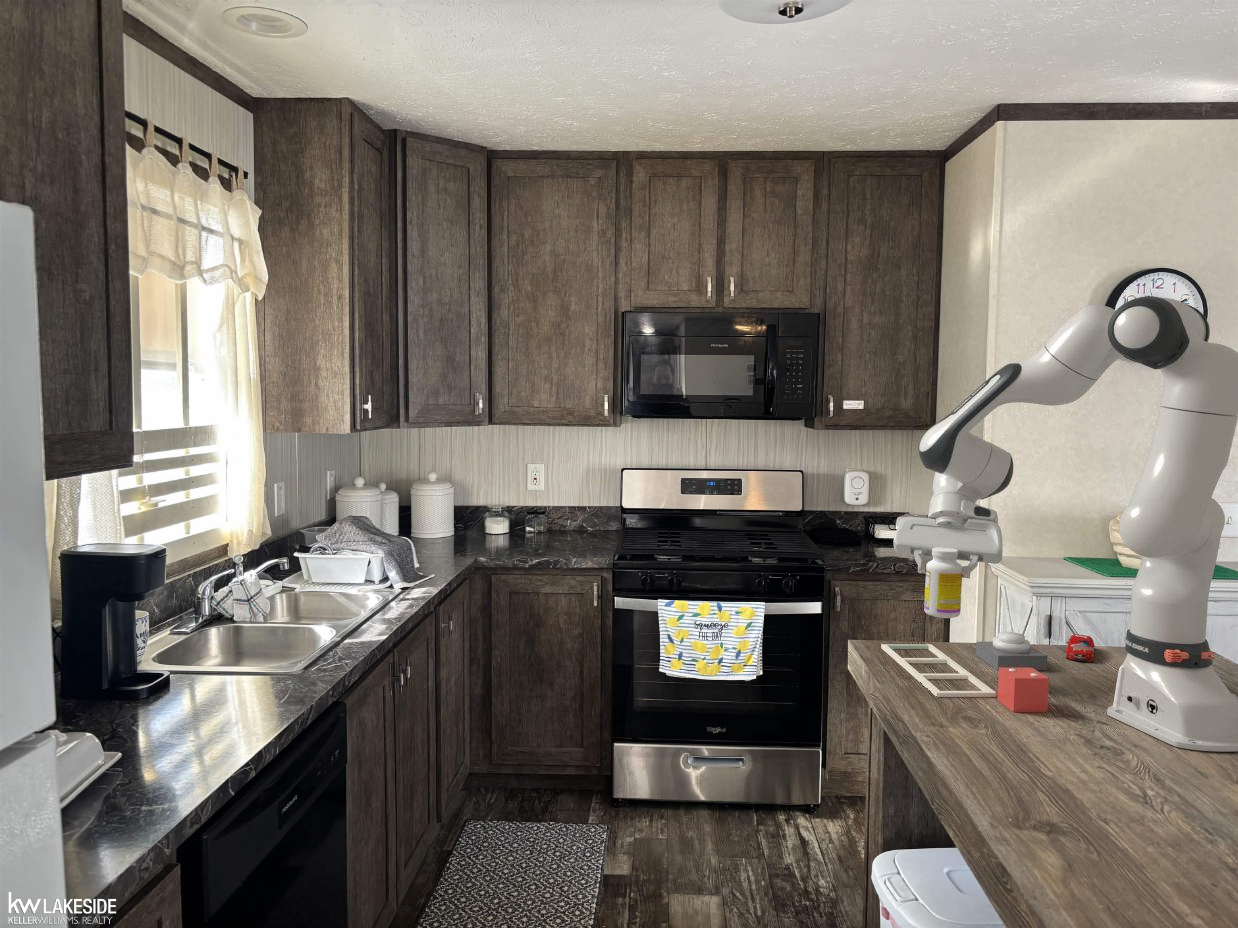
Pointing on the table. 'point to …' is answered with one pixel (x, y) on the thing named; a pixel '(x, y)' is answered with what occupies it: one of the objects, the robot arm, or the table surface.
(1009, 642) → the dome
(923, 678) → the track
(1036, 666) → the dome base
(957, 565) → the supplement bottle
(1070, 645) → the race car
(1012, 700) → the die
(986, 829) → the table surface
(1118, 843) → the table surface
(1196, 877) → the table surface
